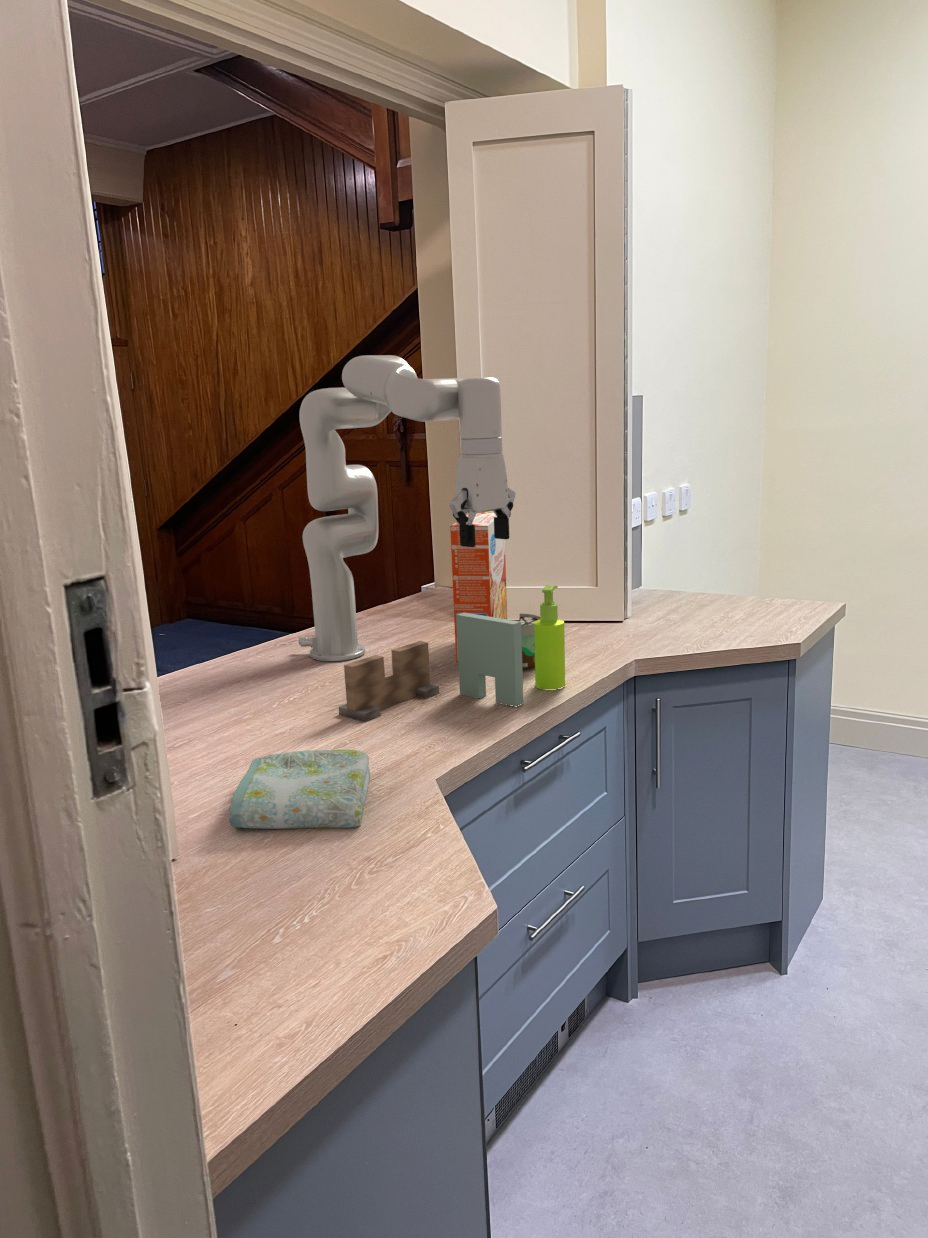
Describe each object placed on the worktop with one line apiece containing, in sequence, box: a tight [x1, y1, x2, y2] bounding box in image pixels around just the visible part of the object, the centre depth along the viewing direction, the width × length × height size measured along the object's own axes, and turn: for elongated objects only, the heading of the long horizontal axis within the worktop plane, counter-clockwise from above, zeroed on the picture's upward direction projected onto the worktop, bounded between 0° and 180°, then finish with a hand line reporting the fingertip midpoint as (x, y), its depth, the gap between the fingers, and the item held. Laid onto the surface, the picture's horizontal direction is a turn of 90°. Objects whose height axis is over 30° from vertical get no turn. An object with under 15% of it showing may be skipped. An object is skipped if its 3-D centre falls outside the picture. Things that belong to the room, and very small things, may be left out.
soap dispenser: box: [534, 584, 566, 690], centre depth 185 cm, size 6×7×20 cm
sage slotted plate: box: [456, 613, 524, 706], centre depth 179 cm, size 2×14×16 cm, turn 49°
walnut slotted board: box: [338, 640, 440, 723], centre depth 179 cm, size 20×7×10 cm, turn 139°
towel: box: [228, 748, 371, 830], centre depth 138 cm, size 18×21×5 cm
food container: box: [517, 613, 540, 672], centre depth 201 cm, size 12×6×10 cm, turn 168°
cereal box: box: [449, 511, 508, 664], centre depth 212 cm, size 23×8×30 cm, turn 169°
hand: (485, 542), depth 173 cm, fingers open, 9 cm apart
